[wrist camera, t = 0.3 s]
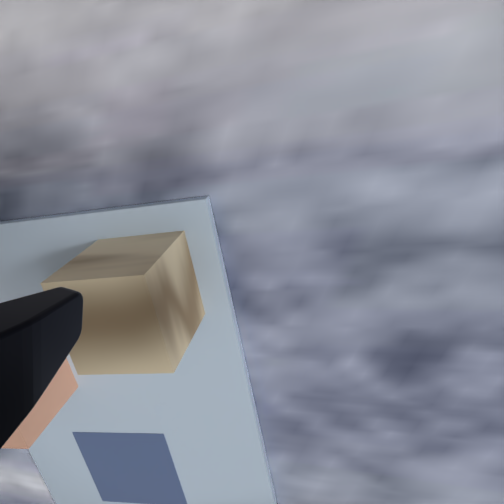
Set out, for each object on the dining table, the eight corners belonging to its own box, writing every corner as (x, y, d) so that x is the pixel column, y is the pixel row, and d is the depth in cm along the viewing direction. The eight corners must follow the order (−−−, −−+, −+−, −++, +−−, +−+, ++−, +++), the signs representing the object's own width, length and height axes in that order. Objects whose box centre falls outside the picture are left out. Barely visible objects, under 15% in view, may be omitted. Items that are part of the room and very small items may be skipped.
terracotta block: (78, 386, 28) (28, 448, 24) (14, 387, 29) (-44, 446, 25) (51, 322, 26) (-8, 376, 22) (-15, 325, 28) (-84, 377, 23)
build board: (280, 517, 31) (279, 526, 30) (63, 503, 35) (58, 511, 34) (208, 195, 22) (205, 199, 21) (-72, 230, 26) (-82, 234, 25)
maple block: (205, 313, 24) (173, 373, 19) (124, 318, 25) (77, 374, 21) (184, 230, 22) (144, 274, 18) (98, 239, 23) (40, 283, 19)
